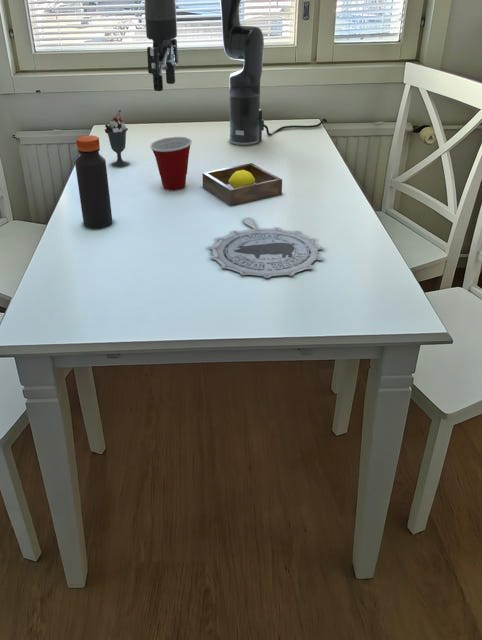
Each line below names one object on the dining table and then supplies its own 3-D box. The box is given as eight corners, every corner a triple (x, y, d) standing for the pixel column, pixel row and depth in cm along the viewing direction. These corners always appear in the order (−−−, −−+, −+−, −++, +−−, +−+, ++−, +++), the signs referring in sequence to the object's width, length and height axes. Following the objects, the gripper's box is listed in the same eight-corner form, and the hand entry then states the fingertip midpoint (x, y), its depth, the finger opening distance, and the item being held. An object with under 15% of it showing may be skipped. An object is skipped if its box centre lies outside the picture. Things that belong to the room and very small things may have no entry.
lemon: (253, 186, 167) (253, 166, 164) (256, 193, 163) (257, 173, 160) (227, 188, 167) (226, 167, 164) (229, 195, 162) (229, 174, 159)
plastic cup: (152, 180, 173) (149, 136, 166) (192, 178, 173) (190, 134, 167) (153, 195, 164) (149, 149, 157) (194, 193, 164) (193, 146, 158)
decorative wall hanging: (339, 272, 125) (301, 214, 150) (339, 271, 125) (301, 213, 150) (217, 282, 123) (199, 222, 148) (217, 281, 123) (199, 221, 148)
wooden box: (251, 177, 173) (251, 162, 171) (281, 194, 162) (282, 179, 160) (202, 187, 168) (202, 172, 165) (230, 206, 156) (230, 190, 154)
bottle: (78, 223, 150) (66, 138, 139) (103, 215, 153) (93, 132, 142) (92, 232, 145) (80, 145, 134) (118, 224, 149) (108, 138, 138)
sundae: (133, 160, 188) (128, 108, 180) (128, 168, 182) (123, 114, 174) (111, 160, 188) (105, 108, 180) (106, 168, 183) (100, 114, 175)
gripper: (164, 21, 146) (168, 94, 155) (185, 13, 158) (188, 81, 166) (134, 20, 148) (140, 92, 157) (157, 12, 160) (161, 80, 168)
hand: (164, 87), depth 162 cm, fingers open, 8 cm apart
